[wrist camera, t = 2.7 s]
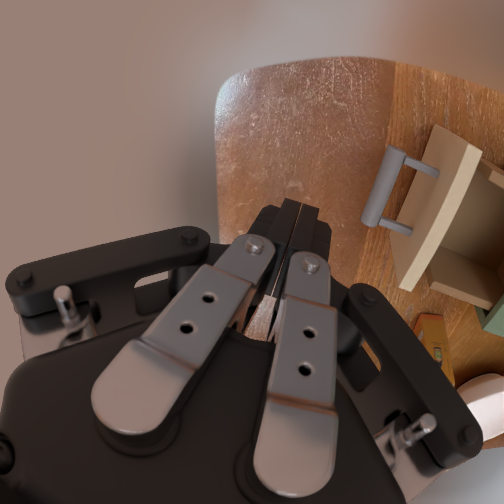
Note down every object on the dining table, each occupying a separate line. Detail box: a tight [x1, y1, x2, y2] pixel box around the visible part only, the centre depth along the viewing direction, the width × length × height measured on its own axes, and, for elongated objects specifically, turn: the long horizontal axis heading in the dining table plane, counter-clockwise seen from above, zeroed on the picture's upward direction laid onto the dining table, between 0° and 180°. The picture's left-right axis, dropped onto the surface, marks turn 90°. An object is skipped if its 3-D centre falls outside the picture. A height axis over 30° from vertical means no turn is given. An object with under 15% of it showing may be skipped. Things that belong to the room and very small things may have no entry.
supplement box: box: [413, 313, 455, 386], centre depth 27 cm, size 3×3×10 cm
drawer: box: [360, 124, 504, 311], centre depth 19 cm, size 18×11×8 cm, turn 79°
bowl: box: [457, 374, 504, 442], centre depth 32 cm, size 20×20×7 cm
